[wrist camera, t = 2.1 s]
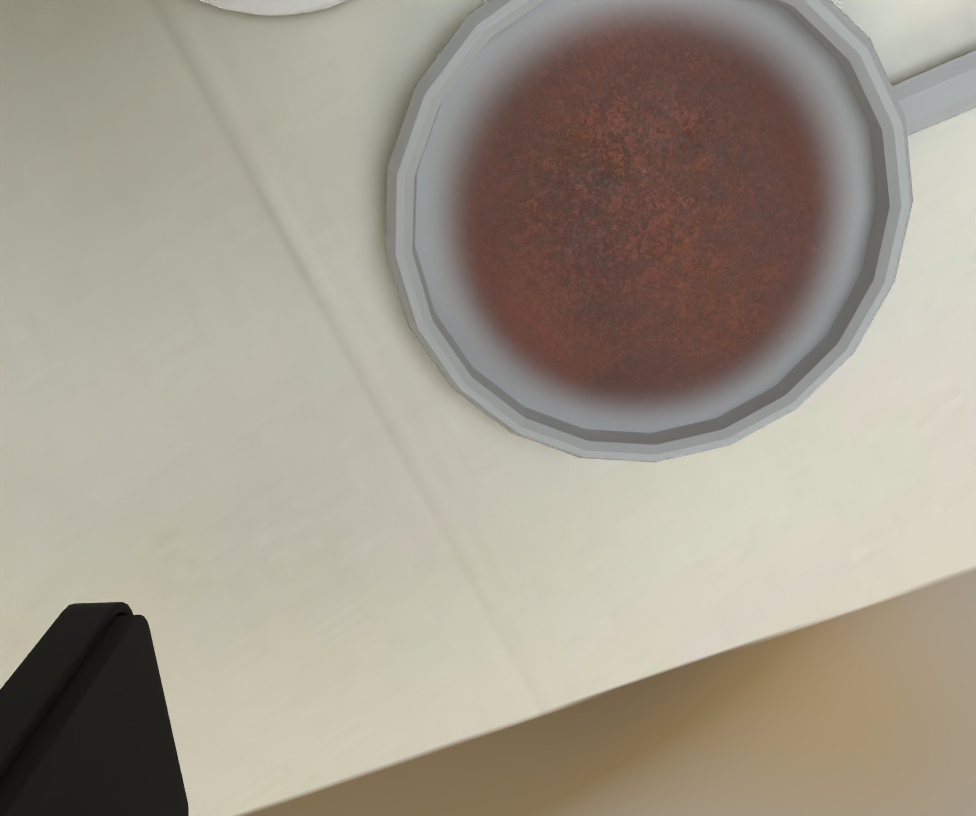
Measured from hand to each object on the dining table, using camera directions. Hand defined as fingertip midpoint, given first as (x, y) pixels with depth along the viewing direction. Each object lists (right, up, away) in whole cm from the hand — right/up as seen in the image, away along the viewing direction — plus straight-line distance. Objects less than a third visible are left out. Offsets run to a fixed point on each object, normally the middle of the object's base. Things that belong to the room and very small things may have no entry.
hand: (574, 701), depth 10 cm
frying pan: (+9, +12, +21) cm, 26 cm away
